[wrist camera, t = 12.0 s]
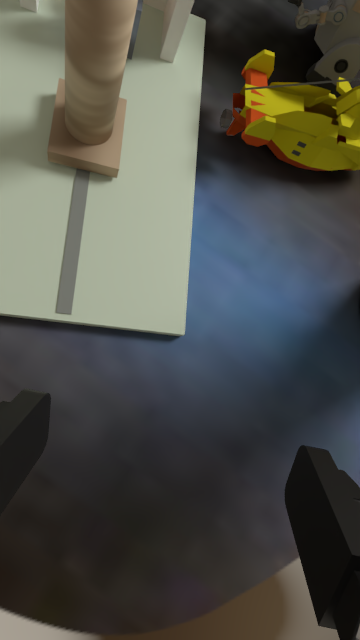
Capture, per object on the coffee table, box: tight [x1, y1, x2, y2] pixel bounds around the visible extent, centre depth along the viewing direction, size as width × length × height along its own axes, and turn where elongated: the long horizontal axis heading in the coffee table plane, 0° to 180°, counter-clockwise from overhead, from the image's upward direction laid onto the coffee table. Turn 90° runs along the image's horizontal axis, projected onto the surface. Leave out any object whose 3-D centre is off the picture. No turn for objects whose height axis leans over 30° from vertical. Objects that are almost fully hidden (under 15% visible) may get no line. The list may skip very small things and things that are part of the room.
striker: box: [47, 0, 143, 178], centre depth 21 cm, size 5×13×13 cm, turn 176°
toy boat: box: [220, 49, 360, 171], centre depth 30 cm, size 6×18×10 cm, turn 88°
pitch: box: [0, 0, 206, 336], centre depth 23 cm, size 18×30×9 cm, turn 176°
